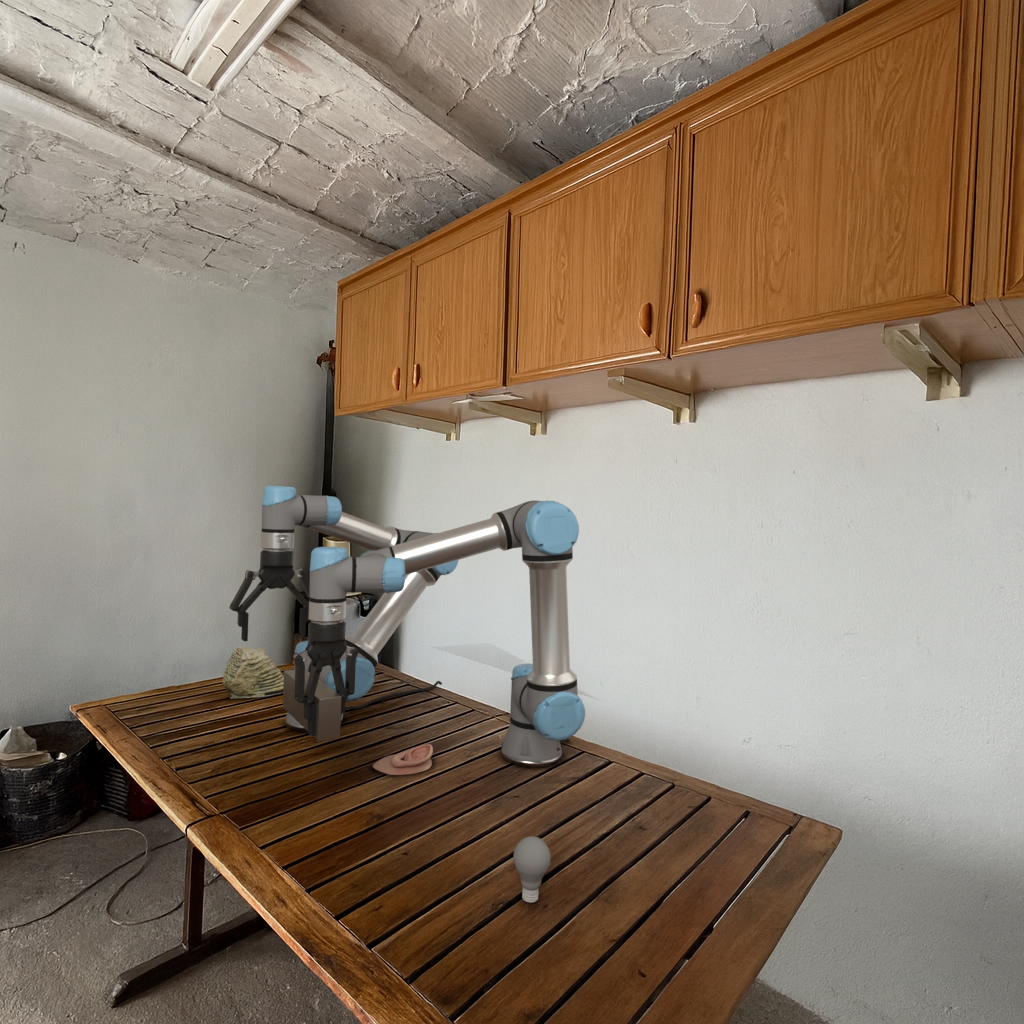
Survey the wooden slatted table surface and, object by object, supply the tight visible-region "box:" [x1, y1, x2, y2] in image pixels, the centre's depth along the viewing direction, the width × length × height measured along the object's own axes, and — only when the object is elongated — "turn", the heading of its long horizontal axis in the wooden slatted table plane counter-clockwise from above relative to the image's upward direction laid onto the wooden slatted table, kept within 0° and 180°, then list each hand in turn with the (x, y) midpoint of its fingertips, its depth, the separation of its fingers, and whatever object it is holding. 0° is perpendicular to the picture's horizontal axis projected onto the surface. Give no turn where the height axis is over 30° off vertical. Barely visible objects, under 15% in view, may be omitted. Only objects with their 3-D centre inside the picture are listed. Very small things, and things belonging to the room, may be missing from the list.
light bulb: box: [512, 836, 552, 904], centre depth 102 cm, size 6×6×10 cm
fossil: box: [222, 646, 284, 699], centre depth 198 cm, size 9×18×15 cm, turn 132°
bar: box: [282, 669, 342, 743], centre depth 140 cm, size 24×5×9 cm, turn 36°
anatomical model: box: [372, 743, 434, 776], centre depth 151 cm, size 13×4×12 cm
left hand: (274, 637), depth 153 cm, fingers open, 13 cm apart
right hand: (324, 731), depth 133 cm, fingers closed on bar, 5 cm apart
